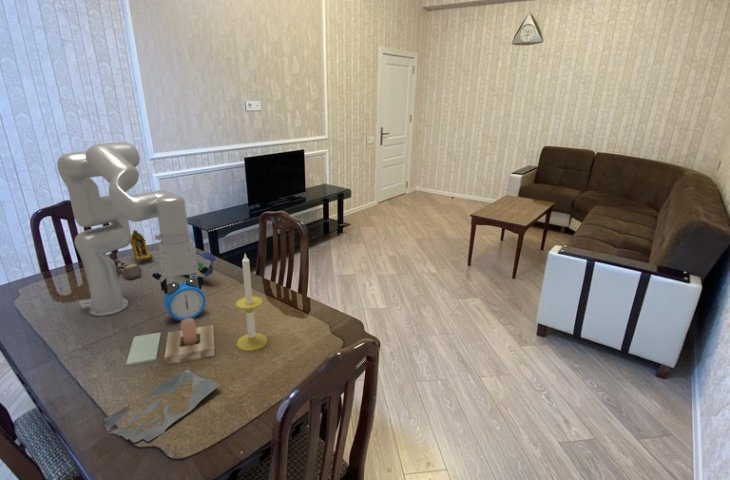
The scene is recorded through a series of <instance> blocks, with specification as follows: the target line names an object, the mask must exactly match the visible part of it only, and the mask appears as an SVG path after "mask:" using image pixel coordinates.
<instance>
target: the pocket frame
mask: <svg viewBox="0 0 730 480" xmlns="http://www.w3.org/2000/svg"><path fill="white" fill-rule="evenodd" d="M195 328H196V335H197V342H199V343H198V344H194V345H189V346H184V341H183V334H182V329H181V330H174V331H168V332H167V338H166V344H165V353H164V362H165V366H169V365H174V364H181V363H185V362H190V361H196V360H201V359H207V358H213V357H215V356H216V355H215V354H216V353H215V350H216V349H215V332H214V325H213V324H210V325H206V326H199V327H195Z"/></svg>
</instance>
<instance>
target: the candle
mask: <svg viewBox="0 0 730 480" xmlns="http://www.w3.org/2000/svg"><path fill="white" fill-rule="evenodd" d="M241 261H242V273H243V274H242V276H243V285H244V286H243V287H244V296H242V297H240V298H238V299H236V301H235V306H236V308H238V309H241V310H245V314H246V315H245V316H246V317H245V318H246V328H247V329H246V330H247V334H244V335H242V336H241V337H240V338H238V340H237V341H236V346H237V348H239V349H240V350H242V351H247V352H254V351H257V350H260V349H262V348H263V347H265V346H266V345H267V344H268V341H269V340H268V337H267V336H266V335H265V334H264V333H260V332H256V322H255V308H258V307H259V306H261V305H262V303H263V302H264V301H263V298H262V297H260V296H257V295H253V292H252V278H251V277H252V276H251V266H250V264H251V263H250V259H249V258H248V257H247V254H246V253H244V256H243V259H242V260H241Z"/></svg>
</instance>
